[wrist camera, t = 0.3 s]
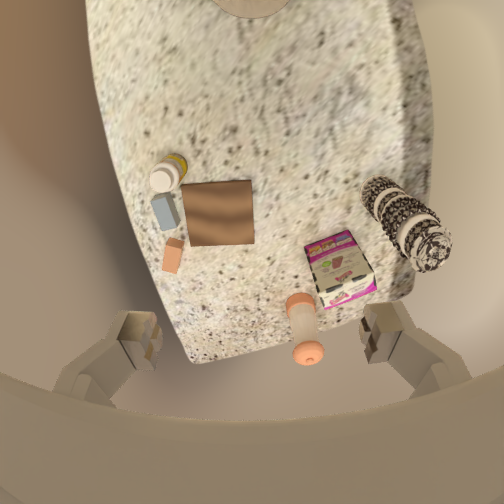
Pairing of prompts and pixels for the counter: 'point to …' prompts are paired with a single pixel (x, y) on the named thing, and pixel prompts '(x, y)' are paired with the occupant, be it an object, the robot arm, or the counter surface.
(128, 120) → the counter surface
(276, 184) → the counter surface
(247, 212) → the board
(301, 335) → the pepper shaker
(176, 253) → the brick terracotta
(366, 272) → the candy bar box
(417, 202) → the decorative candle
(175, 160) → the supplement bottle
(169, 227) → the brick blue
